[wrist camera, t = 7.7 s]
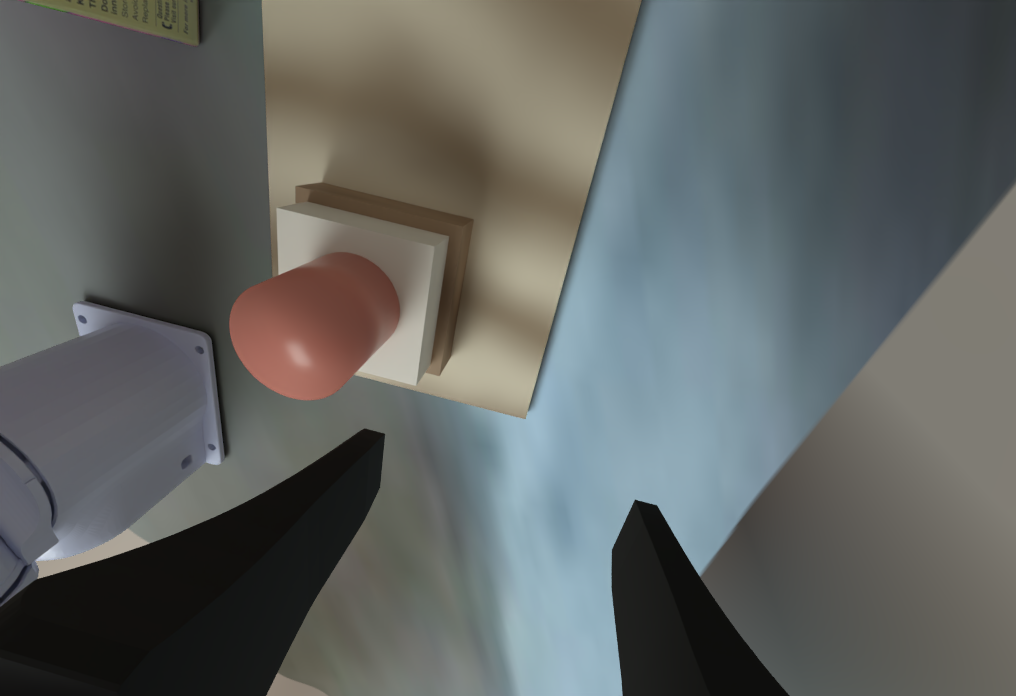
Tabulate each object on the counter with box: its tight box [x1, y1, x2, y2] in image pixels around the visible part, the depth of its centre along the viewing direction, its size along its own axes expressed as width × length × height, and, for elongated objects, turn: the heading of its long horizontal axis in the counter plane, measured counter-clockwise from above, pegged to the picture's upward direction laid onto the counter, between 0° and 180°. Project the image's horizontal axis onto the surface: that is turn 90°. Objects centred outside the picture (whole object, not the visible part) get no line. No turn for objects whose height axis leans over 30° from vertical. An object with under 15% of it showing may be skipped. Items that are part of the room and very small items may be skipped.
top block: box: [276, 202, 449, 386], centre depth 18 cm, size 6×6×2 cm
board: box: [262, 0, 642, 419], centre depth 18 cm, size 24×14×1 cm, turn 168°
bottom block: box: [295, 182, 474, 376], centre depth 20 cm, size 7×7×2 cm
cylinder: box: [229, 252, 400, 400], centre depth 15 cm, size 4×4×4 cm
